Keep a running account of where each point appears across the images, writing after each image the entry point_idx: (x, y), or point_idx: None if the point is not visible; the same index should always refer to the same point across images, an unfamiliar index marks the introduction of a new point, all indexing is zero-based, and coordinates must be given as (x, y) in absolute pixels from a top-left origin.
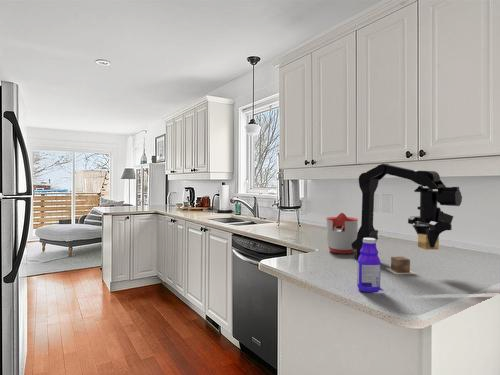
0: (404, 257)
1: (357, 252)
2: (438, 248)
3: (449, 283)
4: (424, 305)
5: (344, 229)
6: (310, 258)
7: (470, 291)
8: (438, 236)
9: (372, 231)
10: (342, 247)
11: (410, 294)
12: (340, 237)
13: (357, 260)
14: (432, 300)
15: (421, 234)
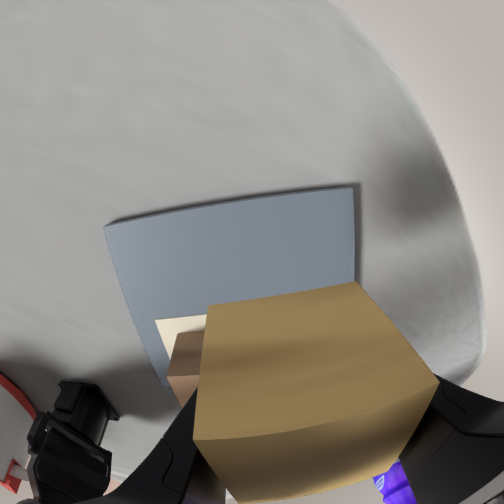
0: (189, 379)
1: (100, 443)
2: (358, 286)
3: (353, 192)
4: (467, 337)
5: (12, 463)
6: (114, 466)
7: (433, 169)
8: (434, 379)
9: (81, 499)
10: (30, 423)
11: (420, 355)
12: (25, 450)
13: (107, 422)
14: (459, 317)
15: (292, 495)
